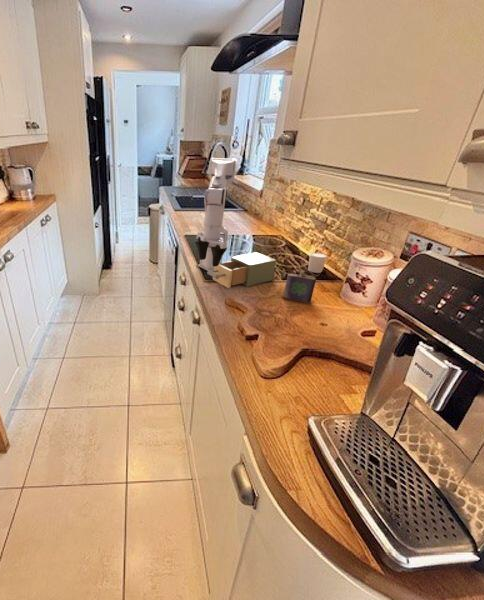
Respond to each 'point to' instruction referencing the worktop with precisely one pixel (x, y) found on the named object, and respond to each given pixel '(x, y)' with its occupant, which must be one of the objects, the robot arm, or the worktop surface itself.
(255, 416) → the worktop surface
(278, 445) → the worktop surface
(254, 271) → the cabinet
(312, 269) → the shot glass
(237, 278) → the drawer
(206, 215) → the robot arm
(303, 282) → the flask
